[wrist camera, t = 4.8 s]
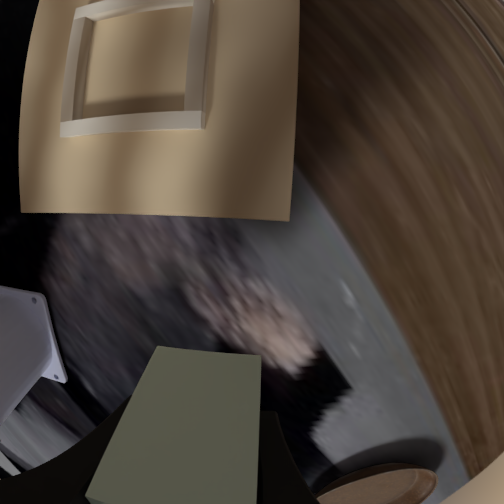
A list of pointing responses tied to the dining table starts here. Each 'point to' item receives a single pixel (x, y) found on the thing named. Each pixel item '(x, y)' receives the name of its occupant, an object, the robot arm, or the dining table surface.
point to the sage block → (186, 433)
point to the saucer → (381, 485)
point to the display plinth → (160, 108)
